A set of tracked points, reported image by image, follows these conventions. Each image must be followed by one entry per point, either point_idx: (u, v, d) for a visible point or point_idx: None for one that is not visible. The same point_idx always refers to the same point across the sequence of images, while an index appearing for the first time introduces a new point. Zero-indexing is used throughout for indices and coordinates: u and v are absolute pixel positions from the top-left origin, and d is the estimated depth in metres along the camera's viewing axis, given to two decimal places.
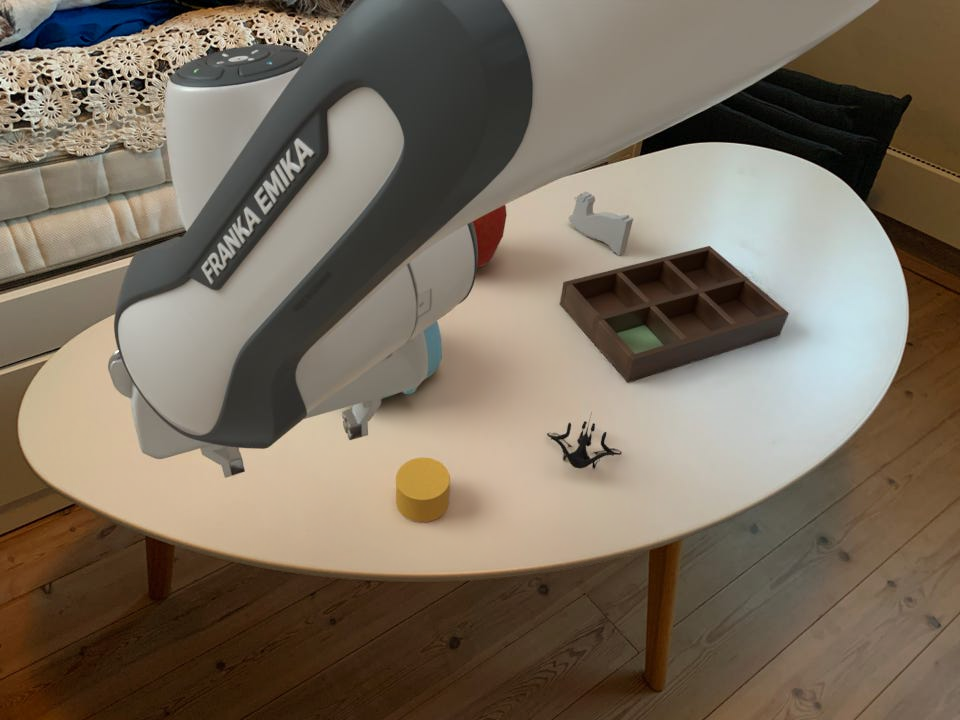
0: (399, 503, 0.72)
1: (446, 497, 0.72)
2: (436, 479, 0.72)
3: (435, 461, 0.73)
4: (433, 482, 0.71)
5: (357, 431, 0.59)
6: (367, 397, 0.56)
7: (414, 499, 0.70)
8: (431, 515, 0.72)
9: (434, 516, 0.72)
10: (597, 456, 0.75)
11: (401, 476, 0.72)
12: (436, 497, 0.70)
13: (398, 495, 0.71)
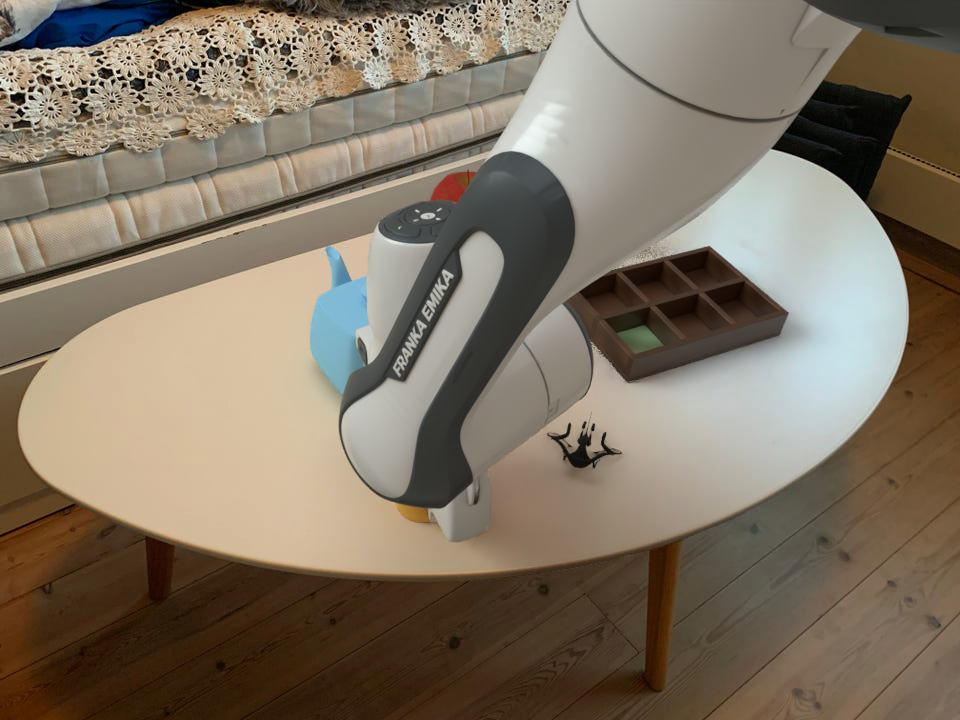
0: None
1: None
2: None
3: None
4: None
5: None
6: None
7: None
8: None
9: None
10: (597, 456, 0.75)
11: None
12: None
13: None
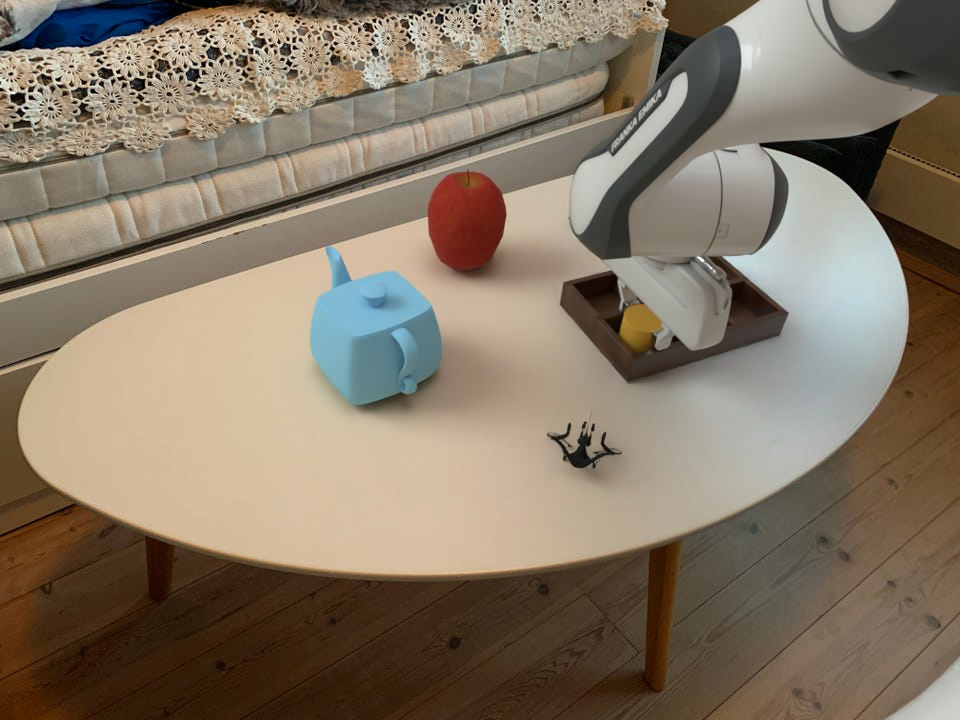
0: (625, 338, 0.89)
1: None
2: (656, 318, 0.88)
3: None
4: (655, 320, 0.88)
5: None
6: None
7: (643, 331, 0.87)
8: (652, 348, 0.88)
9: None
10: (597, 456, 0.75)
11: (628, 316, 0.88)
12: None
13: (627, 330, 0.88)
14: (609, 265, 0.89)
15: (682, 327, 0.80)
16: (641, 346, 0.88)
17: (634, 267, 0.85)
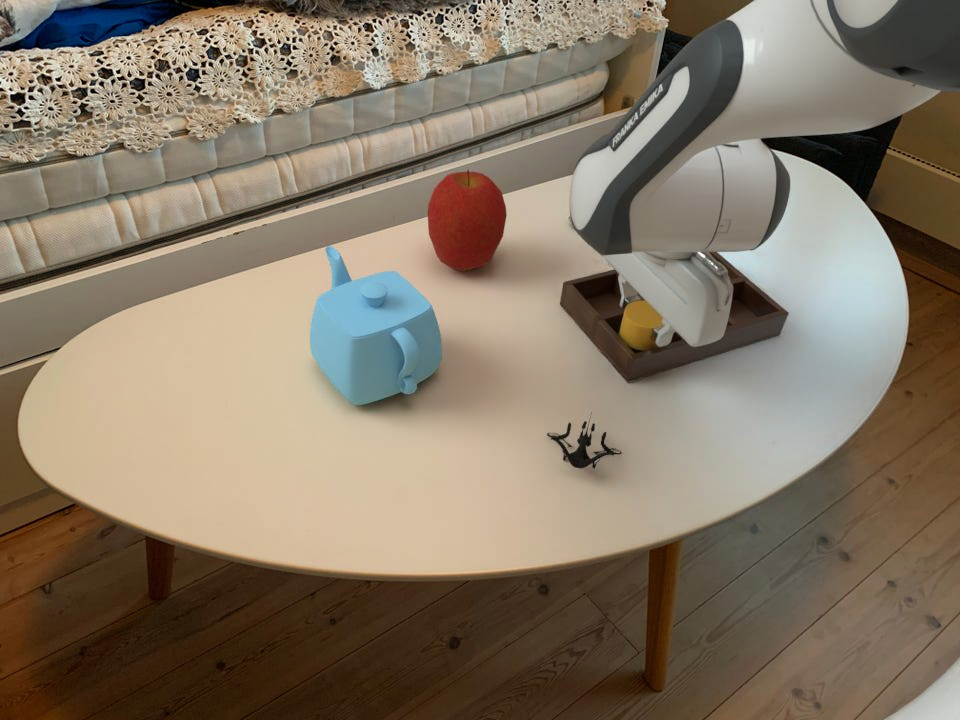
0: (626, 335, 0.89)
1: None
2: (657, 314, 0.88)
3: None
4: (656, 316, 0.88)
5: None
6: None
7: (644, 328, 0.86)
8: (653, 344, 0.88)
9: (654, 346, 0.89)
10: (597, 456, 0.75)
11: (629, 312, 0.88)
12: None
13: (627, 327, 0.88)
14: (610, 261, 0.89)
15: (683, 323, 0.79)
16: (642, 342, 0.88)
17: (635, 263, 0.85)
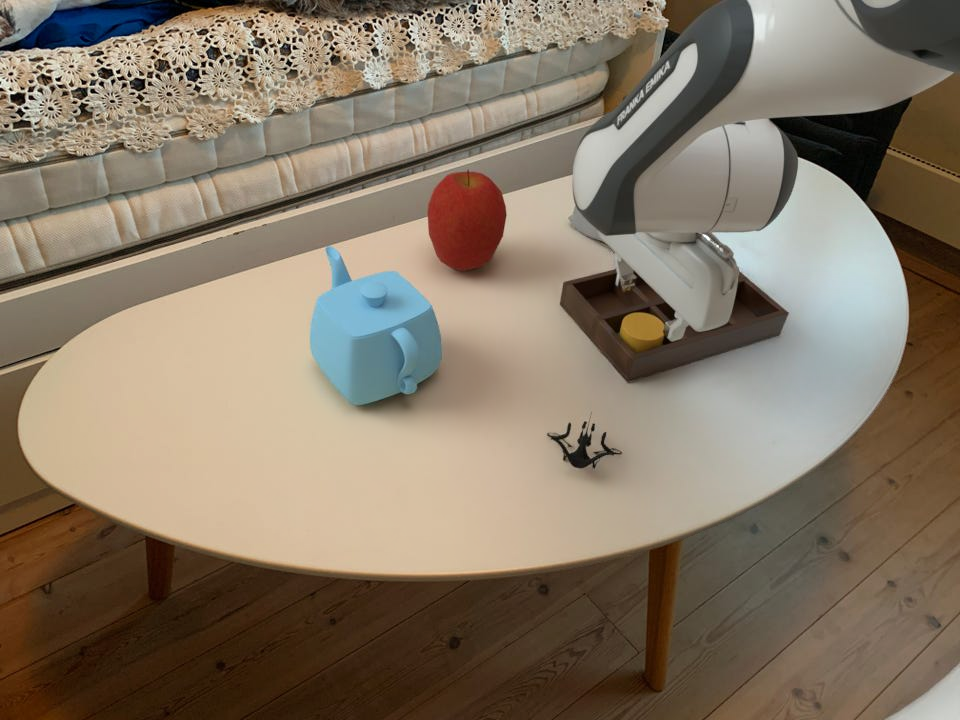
0: None
1: (662, 341, 0.89)
2: (654, 326, 0.89)
3: (649, 314, 0.91)
4: (653, 328, 0.89)
5: None
6: None
7: (641, 339, 0.87)
8: None
9: None
10: (597, 456, 0.75)
11: (626, 324, 0.89)
12: (658, 339, 0.88)
13: (625, 338, 0.89)
14: (613, 247, 0.88)
15: (688, 308, 0.78)
16: None
17: (638, 248, 0.83)
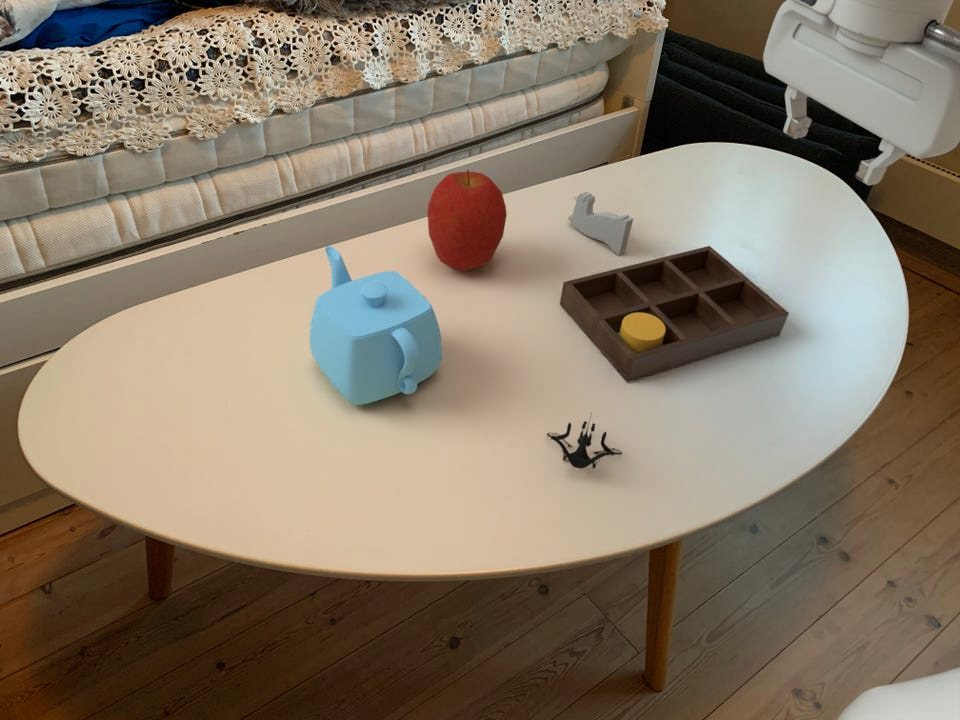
0: None
1: (662, 341, 0.89)
2: (654, 326, 0.89)
3: (649, 314, 0.91)
4: (653, 328, 0.89)
5: None
6: None
7: (641, 339, 0.87)
8: None
9: None
10: (597, 456, 0.75)
11: (626, 324, 0.89)
12: (658, 339, 0.88)
13: (625, 338, 0.89)
14: (788, 78, 0.73)
15: (907, 129, 0.63)
16: None
17: (830, 69, 0.68)
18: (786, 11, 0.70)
